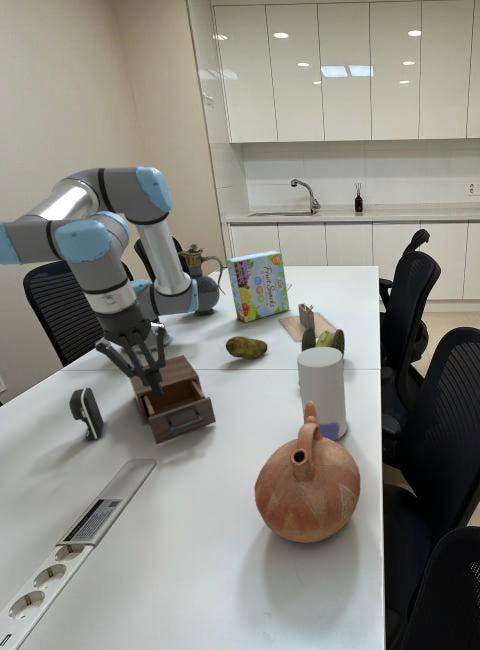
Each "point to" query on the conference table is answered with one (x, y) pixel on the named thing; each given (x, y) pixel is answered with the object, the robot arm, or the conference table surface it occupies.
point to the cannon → (323, 340)
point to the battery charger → (87, 412)
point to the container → (324, 388)
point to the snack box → (258, 285)
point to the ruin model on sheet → (306, 323)
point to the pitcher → (203, 280)
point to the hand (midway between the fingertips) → (159, 393)
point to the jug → (308, 485)
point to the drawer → (178, 411)
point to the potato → (246, 347)
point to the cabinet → (165, 380)
